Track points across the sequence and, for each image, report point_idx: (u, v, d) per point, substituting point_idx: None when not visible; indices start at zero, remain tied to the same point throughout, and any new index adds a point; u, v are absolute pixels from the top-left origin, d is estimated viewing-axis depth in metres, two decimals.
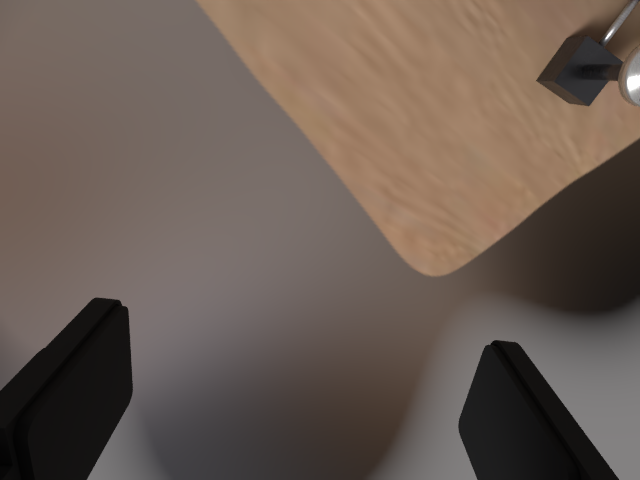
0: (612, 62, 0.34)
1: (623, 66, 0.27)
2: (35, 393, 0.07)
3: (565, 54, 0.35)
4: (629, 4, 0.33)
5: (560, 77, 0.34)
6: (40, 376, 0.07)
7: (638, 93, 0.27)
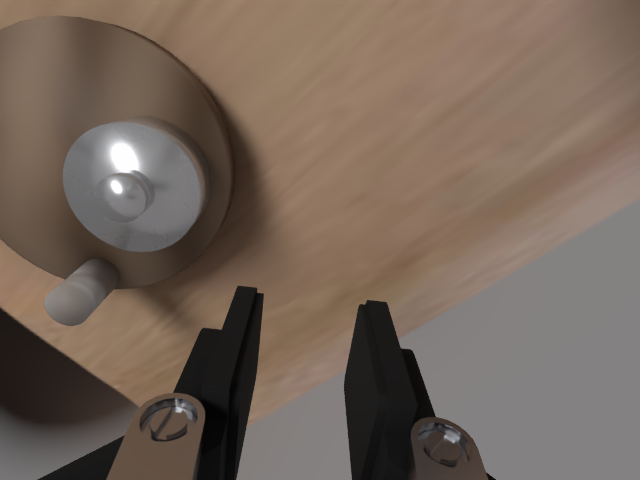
0: None
1: None
2: (236, 361, 0.08)
3: None
4: None
5: None
6: (232, 348, 0.09)
7: None
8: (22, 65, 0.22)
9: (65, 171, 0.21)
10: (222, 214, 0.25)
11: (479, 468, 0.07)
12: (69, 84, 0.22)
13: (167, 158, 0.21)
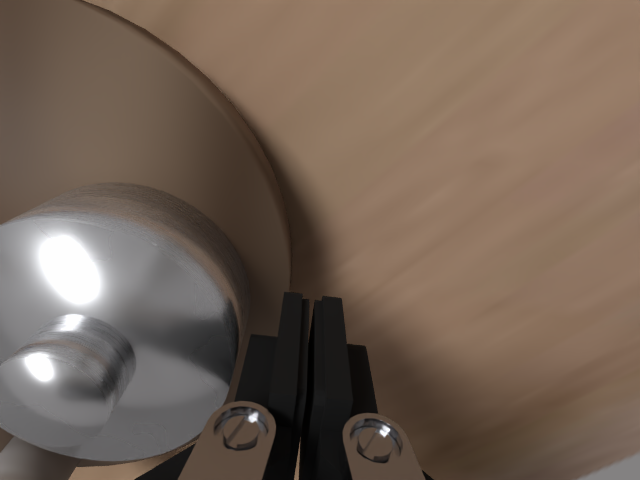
0: None
1: None
2: (298, 369, 0.08)
3: None
4: None
5: None
6: (291, 356, 0.09)
7: None
8: None
9: None
10: None
11: (411, 458, 0.07)
12: None
13: (164, 294, 0.09)
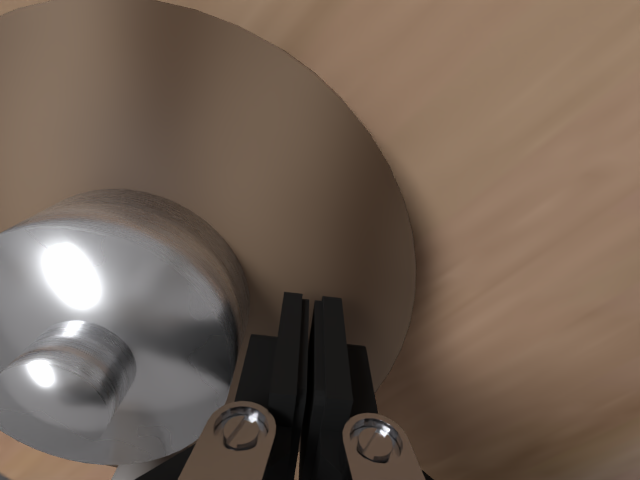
0: None
1: None
2: (298, 369, 0.08)
3: None
4: None
5: None
6: (291, 355, 0.09)
7: None
8: (24, 102, 0.10)
9: None
10: (389, 367, 0.14)
11: (411, 458, 0.07)
12: (121, 140, 0.11)
13: (159, 296, 0.09)
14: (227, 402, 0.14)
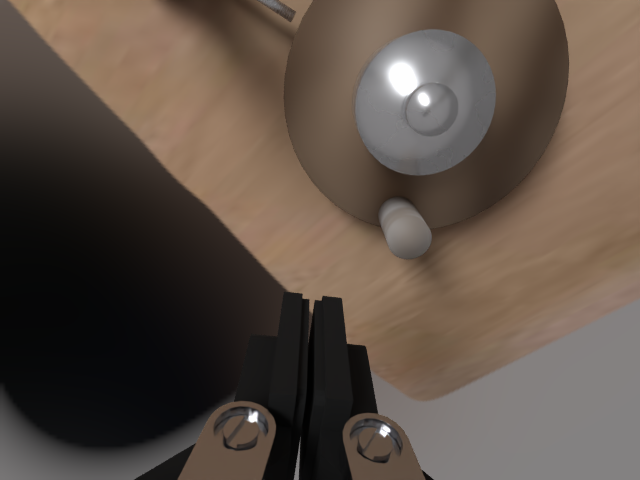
0: None
1: None
2: (298, 369, 0.08)
3: None
4: None
5: None
6: (291, 355, 0.09)
7: None
8: None
9: (361, 87, 0.20)
10: (542, 151, 0.24)
11: (411, 458, 0.07)
12: (430, 6, 0.21)
13: (471, 68, 0.20)
14: (446, 175, 0.25)
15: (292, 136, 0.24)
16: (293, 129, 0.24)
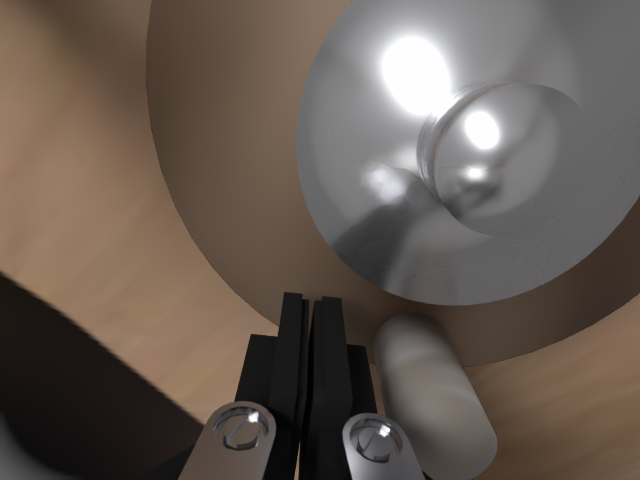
0: None
1: None
2: (298, 369, 0.08)
3: None
4: None
5: None
6: (291, 355, 0.09)
7: None
8: None
9: (307, 103, 0.07)
10: None
11: (411, 458, 0.07)
12: None
13: (610, 38, 0.07)
14: None
15: (182, 209, 0.11)
16: (183, 194, 0.11)
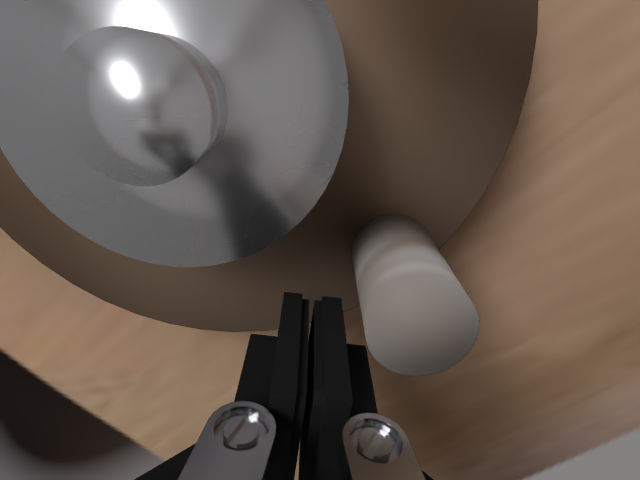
0: None
1: None
2: (298, 369, 0.08)
3: None
4: None
5: None
6: (291, 355, 0.09)
7: None
8: None
9: (47, 201, 0.09)
10: None
11: (411, 458, 0.07)
12: None
13: None
14: (390, 122, 0.11)
15: (142, 311, 0.13)
16: (131, 302, 0.13)
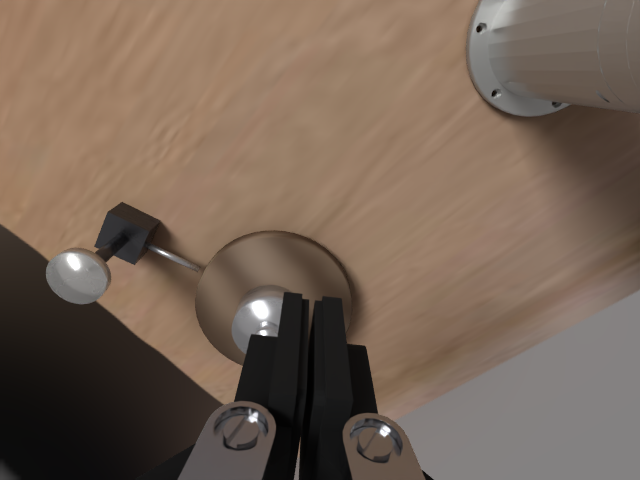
0: (132, 256, 0.39)
1: (79, 249, 0.31)
2: (298, 369, 0.08)
3: (138, 219, 0.39)
4: (181, 259, 0.41)
5: (112, 216, 0.38)
6: (291, 356, 0.09)
7: (54, 265, 0.31)
8: (214, 296, 0.41)
9: (240, 348, 0.40)
10: (341, 275, 0.40)
11: (411, 458, 0.07)
12: (235, 286, 0.41)
13: (265, 307, 0.38)
14: None
15: None
16: None
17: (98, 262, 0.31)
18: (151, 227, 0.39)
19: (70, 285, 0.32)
